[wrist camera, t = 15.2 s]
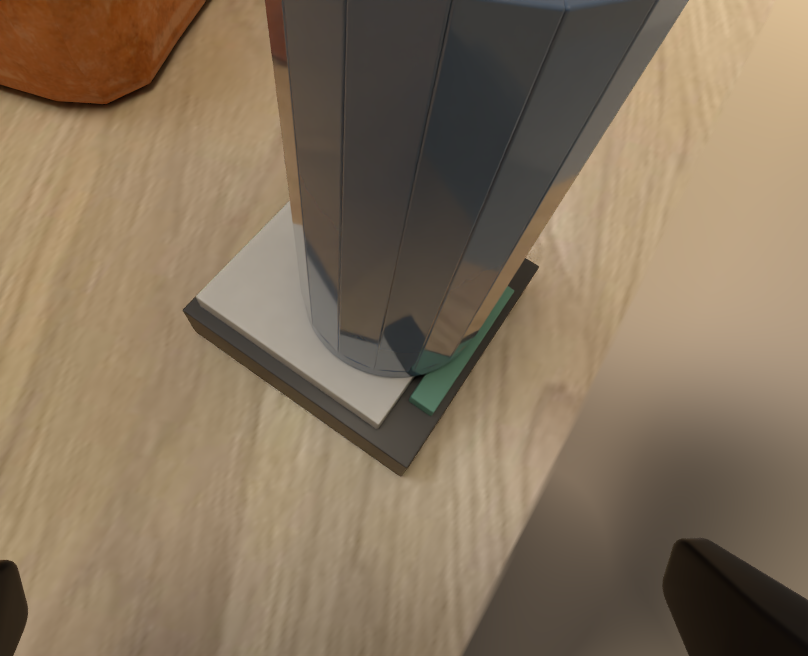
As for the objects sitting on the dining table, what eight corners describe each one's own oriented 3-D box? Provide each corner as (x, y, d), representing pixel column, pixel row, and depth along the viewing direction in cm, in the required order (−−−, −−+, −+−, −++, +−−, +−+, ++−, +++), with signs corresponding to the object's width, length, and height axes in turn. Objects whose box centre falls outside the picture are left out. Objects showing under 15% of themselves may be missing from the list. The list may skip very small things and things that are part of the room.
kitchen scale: (524, 288, 24) (546, 256, 22) (400, 476, 20) (410, 465, 18) (343, 173, 26) (344, 131, 23) (194, 330, 22) (175, 300, 19)
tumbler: (485, 384, 19) (784, 37, 6) (294, 372, 19) (205, -40, 6) (479, 225, 22) (683, -244, 9) (312, 210, 21) (279, -319, 8)
